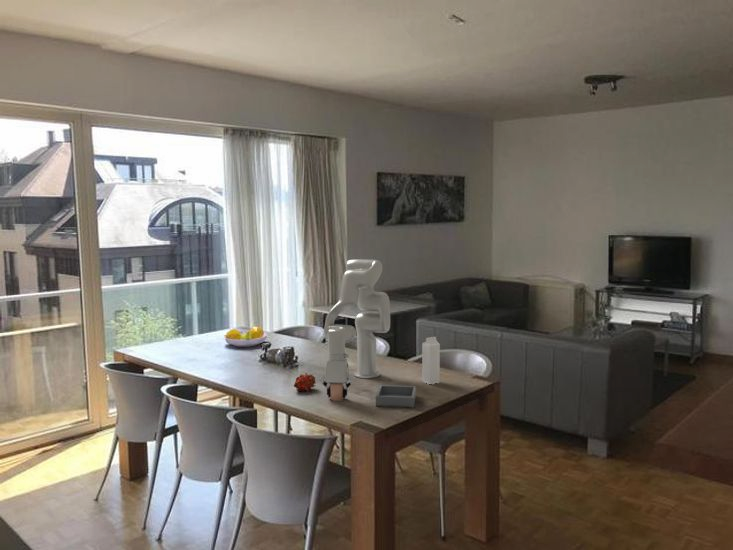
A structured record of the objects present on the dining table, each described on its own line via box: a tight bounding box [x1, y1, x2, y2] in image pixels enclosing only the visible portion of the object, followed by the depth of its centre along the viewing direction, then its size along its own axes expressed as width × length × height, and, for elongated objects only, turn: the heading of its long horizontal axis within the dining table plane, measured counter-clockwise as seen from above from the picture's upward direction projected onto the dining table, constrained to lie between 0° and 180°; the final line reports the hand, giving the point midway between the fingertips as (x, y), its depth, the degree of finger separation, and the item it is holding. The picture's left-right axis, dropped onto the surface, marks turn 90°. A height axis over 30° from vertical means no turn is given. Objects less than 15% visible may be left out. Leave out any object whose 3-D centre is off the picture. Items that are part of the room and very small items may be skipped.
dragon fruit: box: [293, 372, 316, 392], centre depth 272 cm, size 8×8×12 cm
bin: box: [375, 384, 417, 408], centre depth 256 cm, size 16×16×4 cm
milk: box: [421, 336, 441, 385], centre depth 282 cm, size 6×6×22 cm
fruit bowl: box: [223, 326, 268, 348], centre depth 363 cm, size 28×27×11 cm
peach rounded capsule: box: [329, 383, 345, 402], centre depth 260 cm, size 6×6×7 cm
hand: (337, 396), depth 260 cm, fingers closed on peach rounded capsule, 6 cm apart
